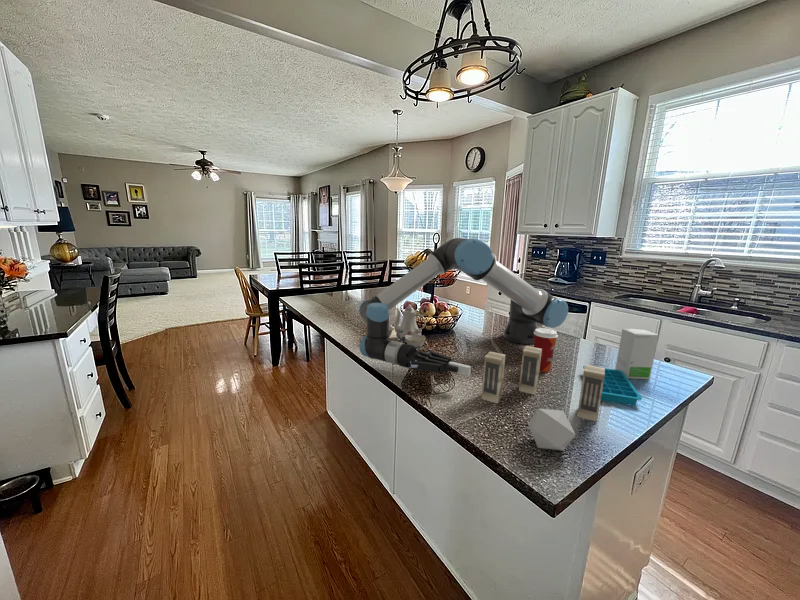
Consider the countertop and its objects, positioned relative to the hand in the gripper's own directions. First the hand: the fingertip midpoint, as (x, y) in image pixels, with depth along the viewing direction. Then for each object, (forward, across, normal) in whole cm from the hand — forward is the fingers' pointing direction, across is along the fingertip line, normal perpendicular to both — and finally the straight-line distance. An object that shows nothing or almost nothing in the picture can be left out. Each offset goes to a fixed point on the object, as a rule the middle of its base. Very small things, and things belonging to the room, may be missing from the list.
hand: (469, 371), depth 96 cm
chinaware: (-38, -26, -7) cm, 47 cm away
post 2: (+15, -11, -6) cm, 20 cm away
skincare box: (+43, -42, -7) cm, 61 cm away
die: (+24, +14, -7) cm, 29 cm away
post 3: (+31, -5, -6) cm, 32 cm away
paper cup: (+16, -30, -7) cm, 35 cm away
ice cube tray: (+36, -26, -7) cm, 45 cm away
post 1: (+7, 0, -6) cm, 10 cm away
